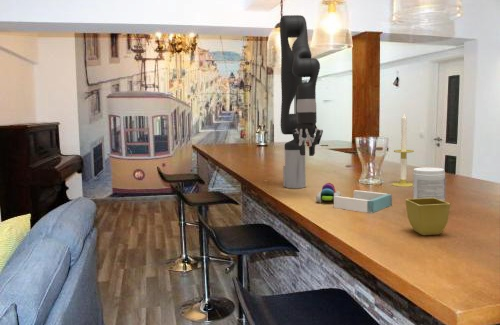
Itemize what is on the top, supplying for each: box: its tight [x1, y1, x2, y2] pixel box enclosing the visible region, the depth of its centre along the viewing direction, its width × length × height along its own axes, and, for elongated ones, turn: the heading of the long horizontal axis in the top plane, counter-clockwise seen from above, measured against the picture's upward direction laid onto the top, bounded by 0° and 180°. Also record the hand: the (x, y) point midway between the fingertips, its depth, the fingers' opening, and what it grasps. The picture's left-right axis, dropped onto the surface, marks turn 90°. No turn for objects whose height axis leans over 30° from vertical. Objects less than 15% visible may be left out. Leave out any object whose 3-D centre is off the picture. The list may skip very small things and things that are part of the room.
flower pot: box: [405, 198, 451, 236], centre depth 119 cm, size 9×9×9 cm
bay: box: [333, 189, 393, 214], centre depth 153 cm, size 14×15×4 cm
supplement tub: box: [412, 167, 446, 202], centre depth 139 cm, size 10×10×15 cm
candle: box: [391, 112, 415, 188], centre depth 191 cm, size 10×10×32 cm
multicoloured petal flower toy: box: [315, 182, 342, 204], centre depth 163 cm, size 8×10×7 cm
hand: (307, 155), depth 168 cm, fingers open, 3 cm apart
